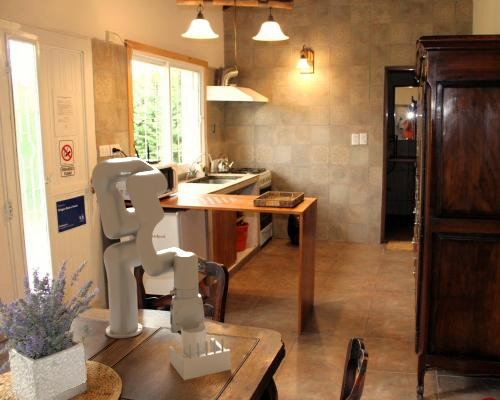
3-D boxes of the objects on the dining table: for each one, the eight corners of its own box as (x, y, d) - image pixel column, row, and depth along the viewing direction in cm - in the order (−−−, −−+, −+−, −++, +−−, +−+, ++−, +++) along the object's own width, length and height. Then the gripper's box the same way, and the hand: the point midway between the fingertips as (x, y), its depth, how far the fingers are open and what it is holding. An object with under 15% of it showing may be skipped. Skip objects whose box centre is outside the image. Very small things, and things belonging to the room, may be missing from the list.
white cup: (205, 364, 163) (204, 333, 162) (179, 364, 164) (178, 332, 162) (208, 353, 171) (208, 323, 170) (184, 352, 172) (183, 322, 170)
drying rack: (170, 362, 165) (169, 330, 164) (213, 352, 171) (213, 322, 170) (184, 380, 154) (183, 346, 152) (230, 369, 160) (230, 337, 159)
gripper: (167, 299, 162) (168, 357, 165) (213, 291, 169) (214, 347, 172) (159, 292, 169) (161, 347, 172) (204, 285, 175) (205, 338, 178)
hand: (187, 347), depth 172 cm, fingers closed
